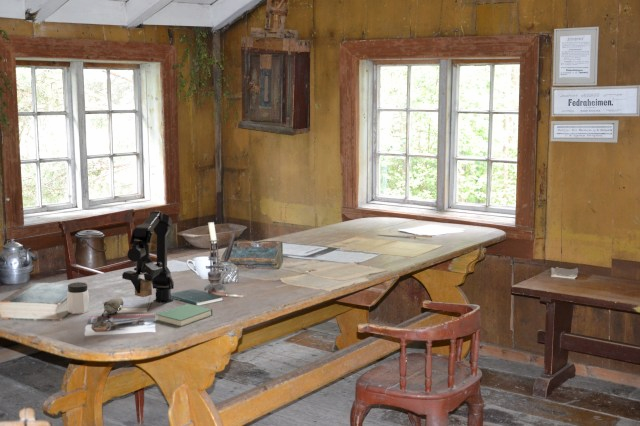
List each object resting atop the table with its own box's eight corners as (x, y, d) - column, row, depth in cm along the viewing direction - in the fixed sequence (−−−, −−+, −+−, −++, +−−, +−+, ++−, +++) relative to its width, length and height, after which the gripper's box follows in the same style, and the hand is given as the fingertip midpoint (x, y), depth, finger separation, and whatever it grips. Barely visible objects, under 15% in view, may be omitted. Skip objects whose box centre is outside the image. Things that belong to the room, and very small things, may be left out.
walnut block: (143, 292, 354) (143, 279, 353) (151, 294, 352) (151, 281, 351) (134, 295, 350) (134, 281, 349) (143, 297, 348) (142, 283, 346)
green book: (188, 310, 366) (188, 303, 365) (212, 315, 358) (212, 309, 358) (156, 320, 349) (156, 314, 349) (180, 327, 342) (180, 320, 341)
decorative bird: (127, 309, 365) (126, 293, 363) (110, 320, 349) (110, 303, 348) (115, 308, 366) (115, 292, 364) (99, 319, 350) (98, 302, 349)
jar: (92, 311, 360) (91, 285, 357) (75, 315, 354) (74, 288, 352) (81, 307, 366) (80, 281, 363) (64, 310, 360) (63, 284, 358)
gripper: (139, 263, 336) (140, 300, 339) (172, 255, 351) (172, 290, 354) (120, 259, 342) (121, 295, 345) (153, 251, 357) (154, 286, 360)
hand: (143, 291), depth 351 cm, fingers closed on walnut block, 5 cm apart
